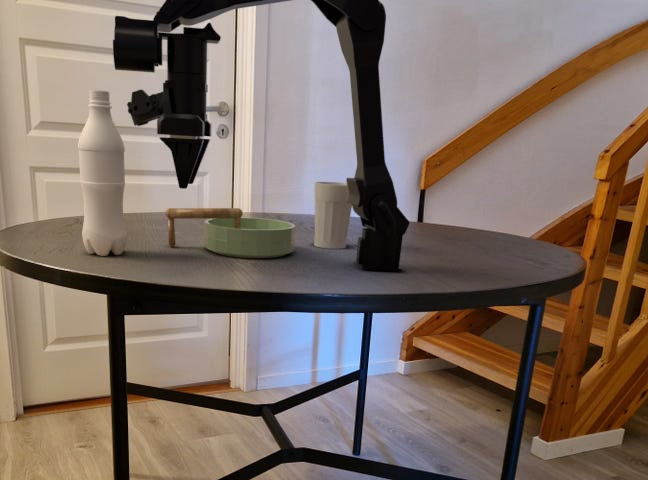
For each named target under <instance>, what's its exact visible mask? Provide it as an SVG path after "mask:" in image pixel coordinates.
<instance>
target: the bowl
mask: <svg viewBox="0 0 648 480" xmlns="http://www.w3.org/2000/svg"><path fill="white" fill-rule="evenodd" d="M295 237H296V225H295V224H294V223H293V222H292V223H291V222H288V221H284V220H279V219H271V218H262V217H261V218H260V217H247V216H246V217H245V216H242V217H241V229H239V228H235V223H234V219H205V221H204V239H203V241H204V242H203V243H204V244H203V245H204V246H203V247H204V248H206V249H207V250H210V251H211V252H212V253H215V254H218V255H221V256H225V257H232V258H245V259H273V258H280V257H284V256H286V255H287V254H291V253H293V252H294V251H295V240H296V239H295Z"/></svg>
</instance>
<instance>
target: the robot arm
mask: <svg viewBox="0 0 648 480" xmlns="http://www.w3.org/2000/svg"><path fill="white" fill-rule="evenodd" d="M290 1H291V2H292V0H165V1H164V3H163V4H162V6H161V7H160V8H159V9H158V11H156V13H155V15H154V16H153V18H152V19H151V20H150V19H141V18H139V19H138V18H130V17H127V16H123V15H115V16H114V31H113V33H114V34H113V39H112V50H113V51H112V53H113V55H112V57H113V65H114V70H115V71H126V72H138V73H139V72H140V73H156V67H159V66H163V40H166V79H164V82H163V83H162V91H161V92H157V93H152V94H150V95H149V94H148V93H147V92H146V91H145V90H144V89H137V90H135V91H132V92H131V98H130V99H131V100H130V101H128V102H127V103H126V106H127V112H128V114H130V117H131V119H132V123H133V125H134V126H135V127H136V126H137V127H140V126H145V125H147V124H149V123H150V122H152V121H154V120H155V121H156V134H157V135H163V136H159V140H160V141H161V142H162V143H163V144H164V145H165V146H166V147H167V148H168V149H169V150H170V152H171V156H172V160H173V165H174V170H175V175H176V180H177V184H178V188H179V189H184V190H187V188H188V186H189V185H193V184H194V182H195V179H196V177H197V174H198V172H199V169H200V166H201V163H202V162H203V160H204V157H205V154H206V151H207V148H208V146H209V144H210V142H211V137H212V123H211V122H210V121H209V120H208V114H207V93H208V92H209V89H208V88H209V85H208V84H207V82H208V79H207V78H208V44H214V45H217V44H219V43H220V41H221V39H222V37H221V35H220V34H219V33H218V32H217V31H216V30H215V29H214V27H213V25H212V23H211V22H207V24H206V25H205V26H204V27H203V28H199V27H190V26H194V25H195V26H196V25H199V24H200V23H203V22H206V21H208V20H211V19H214V18H216V17H218V16H221V15H223V14H226V13H227V12H230V11H233V10H238V9H244V8H251V7H257V6H258V7H259V6H264V5H271V4H277V3H278V4H279V3H285V2H290ZM310 2H312V3H313V4H314V5H315V6H316V8H317V10H319V11H320V13H321V14H322V15H323V16H324V17H325V19H326V20H327V21H328V22H330V23H331V24H332V25H333V26H334V27H335V29H336V33H337V38H338V41H339V45H340V50H341V54H342V56H343V58H344V60H345V63H346V66H347V68H348V71H349V79H350V91H351V104H352V105H351V106H352V116H353V117H352V119H353V128H354V130H353V131H354V140H355V155H356V168H355V172H354V177H346V183H347V186H348V190H349V198H348V203H350V204H352V210H353V212H354V213H355V214H356V215H357V216H359V218H360V223H361V226H362V227H363V228H362V230H361V232H362V233H361V236H359V237H358V238H357V245H356V246H357V248H356V257H355V261H356V263H357V264H358V266H359V267H360V268H361V269H362V270H365V271H383V272H384V271H386V272H402V267H401V266H400V263H401V262H400V261H401V254H402V247H403V246H402V245H403V238H404V235H405V234H406V233H407V230H408V228H409V226H410V221H409V220H408V219H407V217H406V215H404V213H403V212H402V210H401V209H400V208H399V207H398V198H397V194H396V189H395V185H394V181H393V179H392V176H391V174H390V171H389V169H388V167H387V163H386V157H385V156H386V155H385V141H384V128H383V127H384V126H383V113H382V112H383V111H382V97H381V96H382V95H381V83H380V81H381V80H380V69H379V68H380V59H381V55H382V51H383V47H384V43H385V35H386V34H385V33H386V23H387V13H386V8H385V5H384V4H383V2H381V1H380V0H310ZM180 26H183V29H182V33H180V32H176V33H173V31H174V30H176V29H177V28H179V27H180ZM166 135H167V136H169V137H166ZM204 137H208V138H204ZM209 137H210V138H209Z"/></svg>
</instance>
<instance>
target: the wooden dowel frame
mask: <svg viewBox="0 0 648 480" xmlns="http://www.w3.org/2000/svg"><path fill="white" fill-rule="evenodd" d="M243 214H244V213H243V210H242V209H241V208H239V207H205V208H204V207H177V208H176V207H175V208H174V207H170V208H167V209H166V210H165V217H166V218H167V231H168V232H167V235H168V246H169V247H170V248H174V247H175V246H176V245H177V244H176V243H177V242H176V227H175V226H176V225H175V220H176V219H177V220H178V219H179V220H180V219H185V220H186V219H187V220H189V219H190V220H193V219H195V220H196V219H197V220H199V219H202V220H203V219H205V220H208V219H234V223H235V228H239V229H241V217H243Z"/></svg>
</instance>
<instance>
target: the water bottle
mask: <svg viewBox="0 0 648 480" xmlns="http://www.w3.org/2000/svg"><path fill="white" fill-rule="evenodd" d="M88 95H89V96H88V97H89V101H88V105H87V108H89V112H88V117H87V120H86V122H85V124H84V126H83V128H82V131H81V133H80V135H79V139H78V143H77V150H78V161H79V162H78V163H79V182H80V186H81V190H82V191H81V192H82V198H83V224H82V230H81V236H82V237H81V238H82V243H83V246H84V248H85V250H86V252H87V253H88V254H90V255H93V254H96V255H98V256H100V257H107V256H108V255H109V254H110V251H111V252H112V253H113V254H114V255H115V256H119V255H122V254H123V252H124V251H125V248H126V246H127V241H128V232H127V228H126V223H125V216H124V192H125V186H126V177H125V176H126V174H125V151H126V150H125V143H124V141H123V139H122V136H121V134H120V132H119V130H118V128H117V126H116V124H115V121H113V117H112V113H111V109H112V106H111V102H110V91H106V90H95V89H91V90H89V91H88Z"/></svg>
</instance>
